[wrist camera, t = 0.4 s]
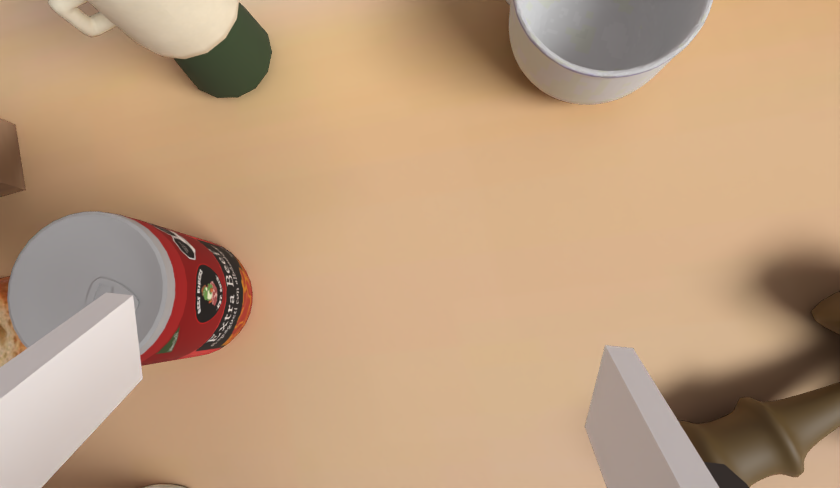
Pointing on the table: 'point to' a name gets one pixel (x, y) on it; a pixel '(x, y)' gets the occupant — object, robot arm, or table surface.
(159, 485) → the coffee can
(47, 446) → the robot arm
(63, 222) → the canned food
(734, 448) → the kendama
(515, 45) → the teacup
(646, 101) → the table surface
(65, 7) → the character mug
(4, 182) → the metal block
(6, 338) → the slice of bread
